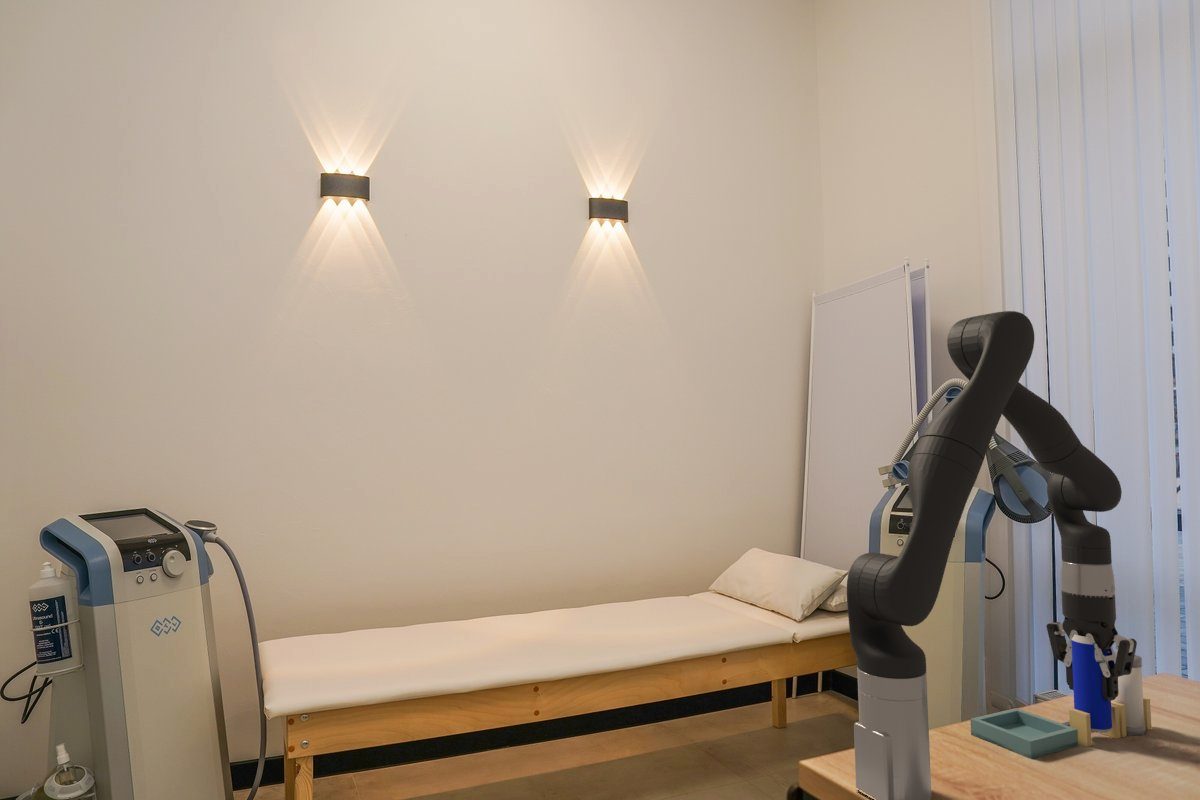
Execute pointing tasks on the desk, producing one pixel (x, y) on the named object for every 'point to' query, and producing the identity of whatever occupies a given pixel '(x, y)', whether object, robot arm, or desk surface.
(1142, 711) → the fuse
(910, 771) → the robot arm
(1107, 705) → the beverage can
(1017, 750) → the tray
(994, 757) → the desk surface
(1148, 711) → the fuse block
